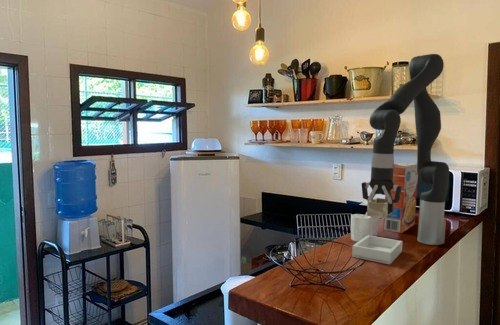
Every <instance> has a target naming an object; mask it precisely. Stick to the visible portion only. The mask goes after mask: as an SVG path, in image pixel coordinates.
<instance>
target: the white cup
mask: <svg viewBox="0 0 500 325" xmlns="http://www.w3.org/2000/svg"><path fill="white" fill-rule="evenodd" d="M370 222H371V216H367V215H366V214H361V213H354V214H350V240H352V241H354V242H355V243H357V242H359V241H360V240H361V239H363V238H364V237H366V236H367V235H369V231H370Z"/></svg>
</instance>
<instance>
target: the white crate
mask: <svg viewBox="0 0 500 325" xmlns="http://www.w3.org/2000/svg"><path fill="white" fill-rule="evenodd" d="M402 252H403V240H400V239H399V240H397V239H392V238H386V237H382V236H370V235H367V236H366V237H364V238H363V239H361V240H360V241H359V242H355V243H354V244H353V245H352V252H351V257H353V258H357V259H363V260H366V261H371V262H377V263H381V264H385V265H391V264H392V263H393V262H394V261H395V260H396V259H397V258H398V257H399V256H400V254H401V253H402Z"/></svg>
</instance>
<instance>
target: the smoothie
mask: <svg viewBox="0 0 500 325" xmlns="http://www.w3.org/2000/svg"><path fill="white" fill-rule="evenodd" d="M365 215H367V211H366V212H365ZM380 221H381V218H378V217H371V222H370V231H369V235H370V236H376V237H378V232H379V226H380Z"/></svg>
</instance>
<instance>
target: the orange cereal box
mask: <svg viewBox="0 0 500 325" xmlns="http://www.w3.org/2000/svg"><path fill="white" fill-rule="evenodd" d="M418 181H419V178H418V175H417V162H416V163H414V162H413V163H412V162H396V163H395V162H394V168H393V183H394V185H398V186H402V190H401V194H400V199H399V202H397V203H394V204H393V212H392V213H391V214H390V215H388V216H387V217H386V218H383V228H382V231H386V232H393V233H397V234H403V233H404V232H405V231H407V230H409V229H410V228H411V227H413V226H415V223H416V222H415V221H416V209H417V207H416V206H417V197H418V196H417V193H418ZM390 192H391V194H392V198H393V199H395V194H396V191H395V190H394V188H392V189H391V191H390ZM384 199H387V198H386V196H385V195H384Z"/></svg>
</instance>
